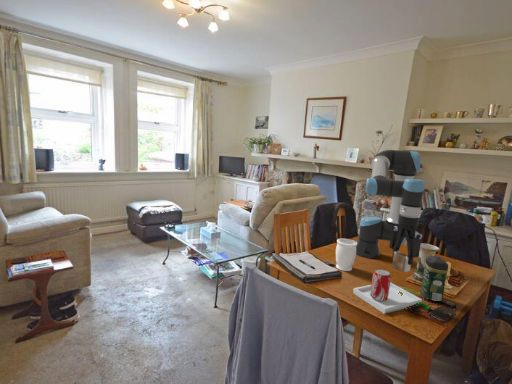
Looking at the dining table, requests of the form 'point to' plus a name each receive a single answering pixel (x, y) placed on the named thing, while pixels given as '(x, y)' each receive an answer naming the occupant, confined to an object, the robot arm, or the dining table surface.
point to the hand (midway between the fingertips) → (400, 268)
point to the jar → (345, 254)
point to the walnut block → (399, 261)
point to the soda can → (380, 285)
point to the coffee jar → (434, 278)
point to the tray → (393, 300)
